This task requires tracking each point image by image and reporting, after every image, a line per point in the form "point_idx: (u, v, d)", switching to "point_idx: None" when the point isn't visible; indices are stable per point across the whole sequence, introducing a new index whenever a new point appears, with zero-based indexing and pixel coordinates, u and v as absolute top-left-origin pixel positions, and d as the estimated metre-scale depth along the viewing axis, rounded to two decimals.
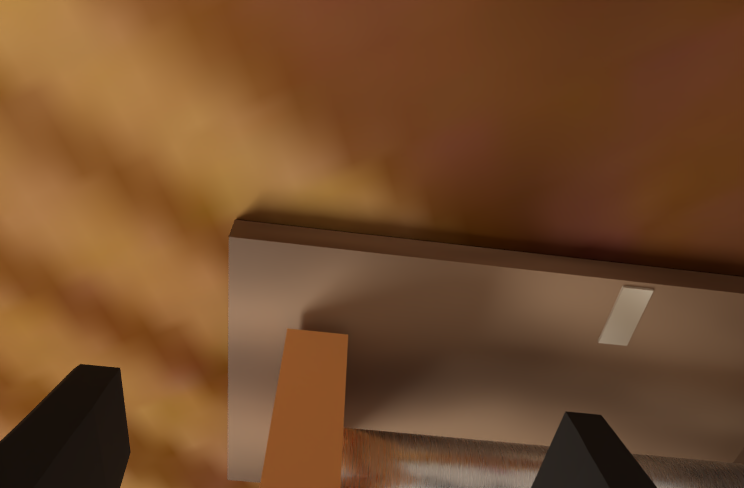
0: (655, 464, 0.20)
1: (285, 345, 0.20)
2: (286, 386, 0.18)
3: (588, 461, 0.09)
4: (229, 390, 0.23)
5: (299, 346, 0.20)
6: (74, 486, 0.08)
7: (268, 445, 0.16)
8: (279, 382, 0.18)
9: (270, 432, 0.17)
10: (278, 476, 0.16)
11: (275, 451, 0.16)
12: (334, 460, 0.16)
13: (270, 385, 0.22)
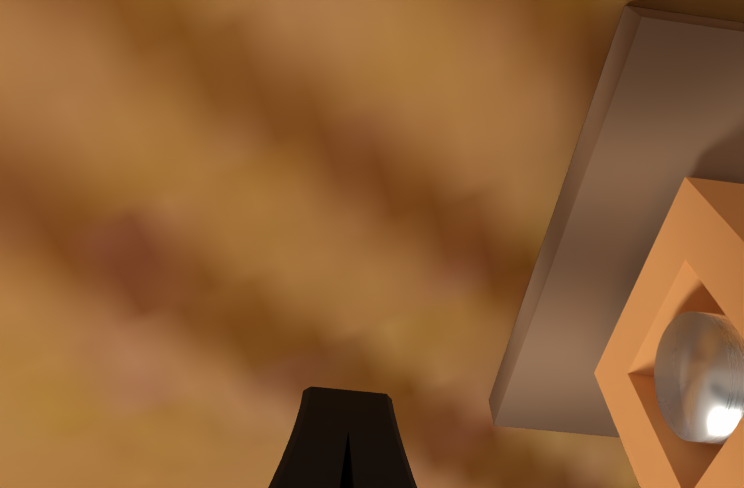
0: None
1: (702, 194, 0.13)
2: None
3: (349, 439, 0.09)
4: (546, 287, 0.16)
5: (722, 196, 0.13)
6: None
7: None
8: (740, 235, 0.12)
9: None
10: None
11: None
12: None
13: (607, 280, 0.16)
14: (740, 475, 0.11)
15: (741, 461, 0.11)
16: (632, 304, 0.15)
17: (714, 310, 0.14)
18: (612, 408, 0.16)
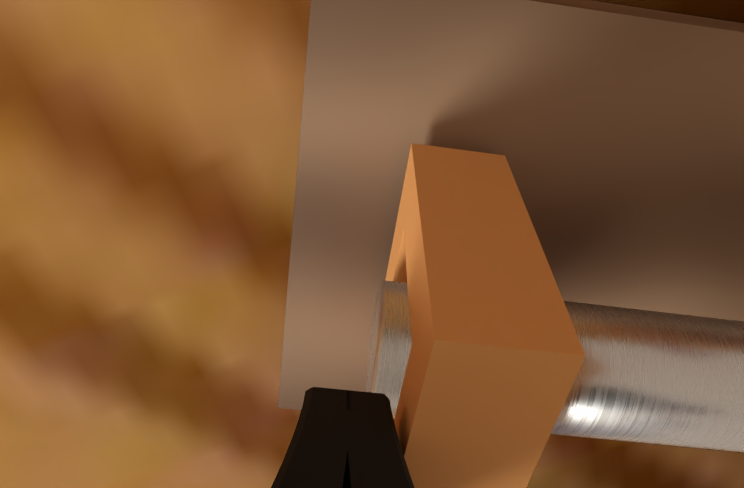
0: None
1: (415, 160, 0.12)
2: (433, 205, 0.11)
3: None
4: (291, 261, 0.15)
5: (437, 162, 0.12)
6: None
7: (430, 276, 0.09)
8: (420, 199, 0.11)
9: (427, 259, 0.09)
10: (462, 318, 0.08)
11: (445, 284, 0.09)
12: (551, 301, 0.09)
13: (354, 253, 0.15)
14: None
15: None
16: (386, 279, 0.15)
17: None
18: None
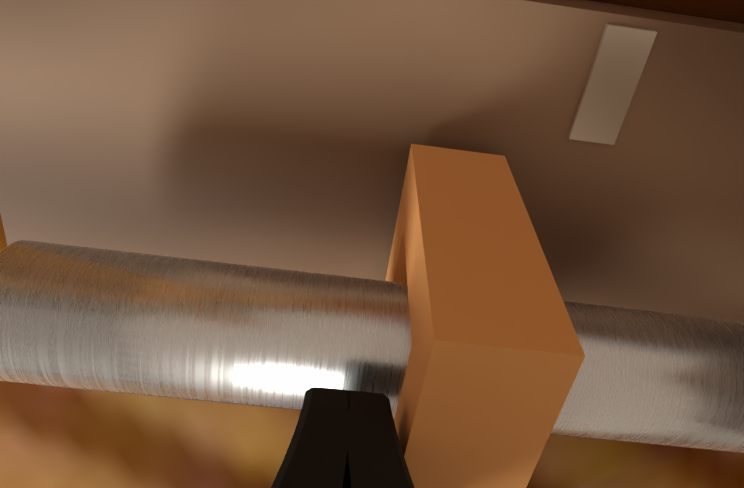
0: (659, 318, 0.12)
1: (414, 161, 0.12)
2: (433, 205, 0.11)
3: None
4: (6, 229, 0.15)
5: (436, 163, 0.12)
6: None
7: (429, 276, 0.09)
8: (420, 200, 0.11)
9: (427, 259, 0.09)
10: (462, 318, 0.08)
11: (444, 284, 0.09)
12: (551, 302, 0.09)
13: (67, 221, 0.15)
14: None
15: None
16: (386, 280, 0.15)
17: None
18: None
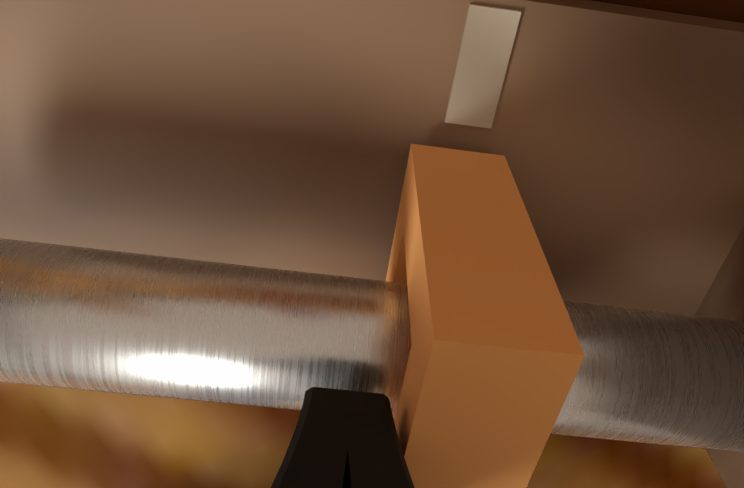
0: None
1: (414, 161, 0.12)
2: (433, 205, 0.11)
3: None
4: None
5: (436, 163, 0.12)
6: None
7: (429, 276, 0.09)
8: (420, 200, 0.11)
9: (426, 259, 0.09)
10: (461, 318, 0.08)
11: (444, 284, 0.09)
12: (550, 301, 0.09)
13: None
14: None
15: None
16: (386, 280, 0.15)
17: None
18: None
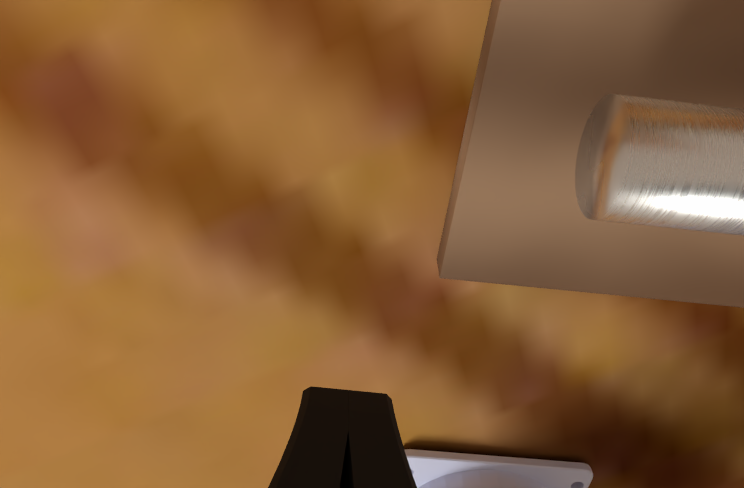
0: None
1: None
2: None
3: (348, 439, 0.09)
4: (477, 115, 0.16)
5: None
6: None
7: None
8: None
9: None
10: None
11: None
12: None
13: (537, 106, 0.16)
14: None
15: None
16: None
17: None
18: None
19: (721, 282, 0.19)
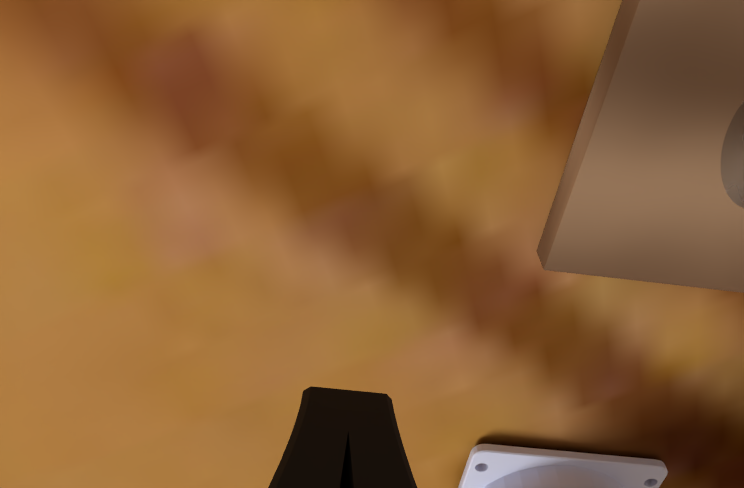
0: None
1: None
2: None
3: (349, 439, 0.09)
4: (605, 104, 0.16)
5: None
6: None
7: None
8: None
9: None
10: None
11: None
12: None
13: (667, 95, 0.16)
14: None
15: None
16: None
17: None
18: None
19: None
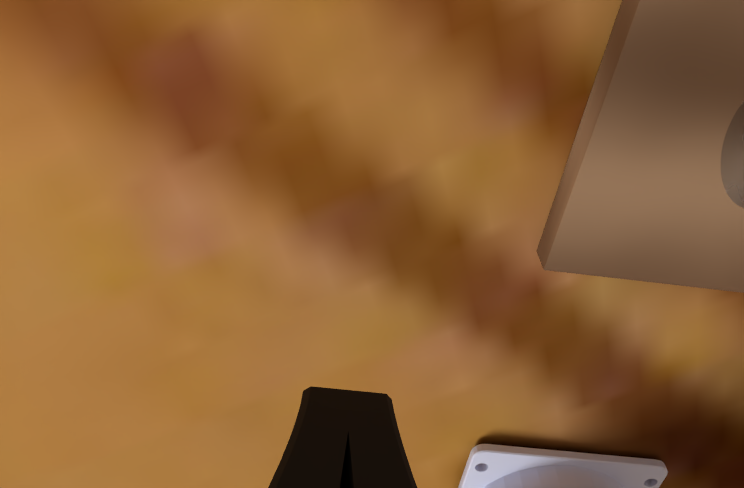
0: None
1: None
2: None
3: (349, 439, 0.09)
4: (605, 104, 0.16)
5: None
6: None
7: None
8: None
9: None
10: None
11: None
12: None
13: (667, 95, 0.16)
14: None
15: None
16: None
17: None
18: None
19: None
